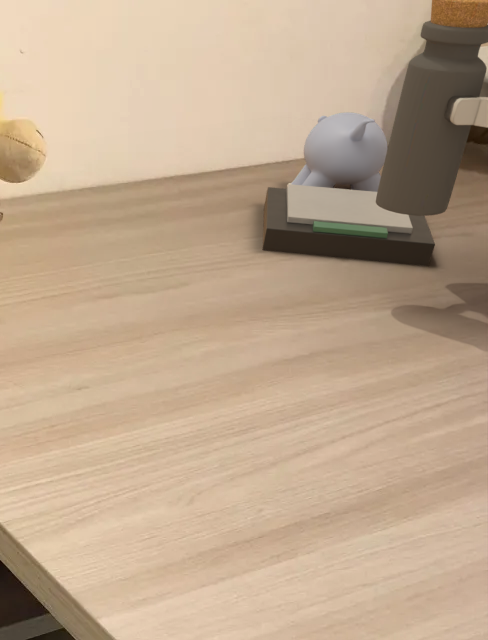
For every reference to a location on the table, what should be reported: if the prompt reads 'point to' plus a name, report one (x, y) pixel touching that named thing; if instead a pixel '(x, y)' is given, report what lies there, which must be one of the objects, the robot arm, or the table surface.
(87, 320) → the table surface
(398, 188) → the bottle
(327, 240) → the scale
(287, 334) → the table surface
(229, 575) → the table surface
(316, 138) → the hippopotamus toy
